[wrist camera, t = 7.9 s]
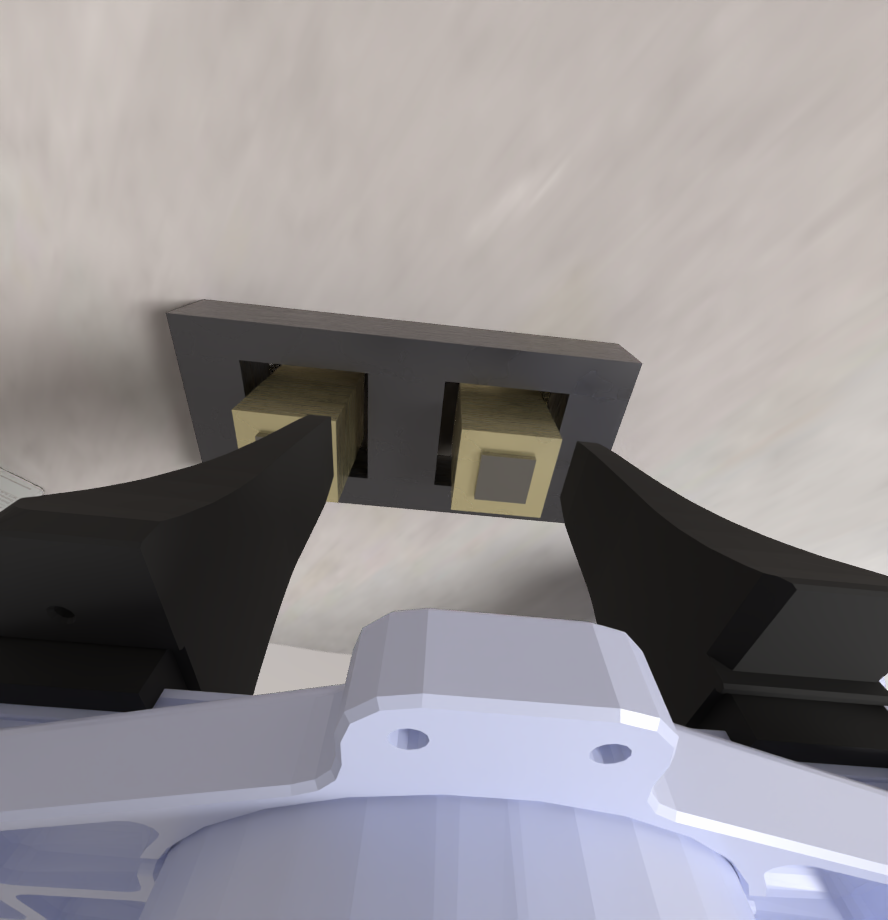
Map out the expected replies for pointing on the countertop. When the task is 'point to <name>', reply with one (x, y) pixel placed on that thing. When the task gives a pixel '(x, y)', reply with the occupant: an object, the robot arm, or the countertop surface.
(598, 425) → the rail
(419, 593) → the countertop surface
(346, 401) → the block
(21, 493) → the supplement box
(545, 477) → the seated nut
